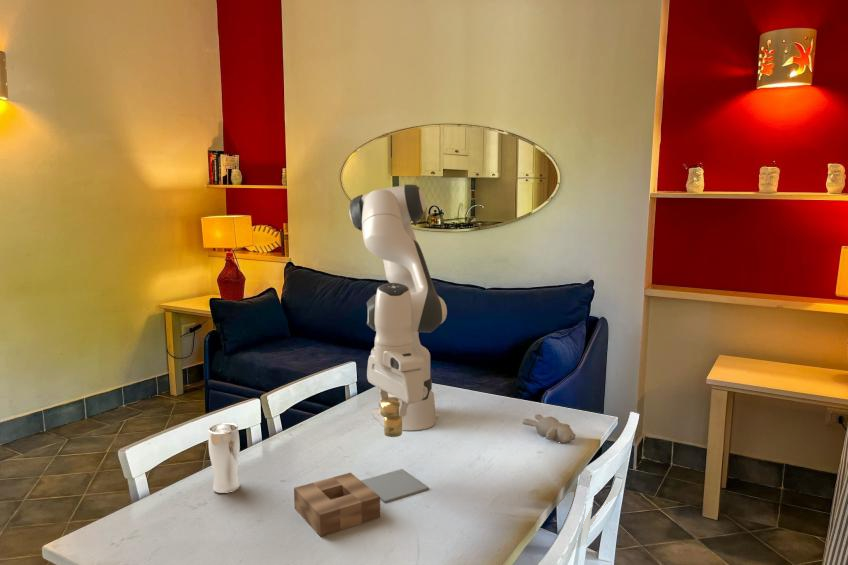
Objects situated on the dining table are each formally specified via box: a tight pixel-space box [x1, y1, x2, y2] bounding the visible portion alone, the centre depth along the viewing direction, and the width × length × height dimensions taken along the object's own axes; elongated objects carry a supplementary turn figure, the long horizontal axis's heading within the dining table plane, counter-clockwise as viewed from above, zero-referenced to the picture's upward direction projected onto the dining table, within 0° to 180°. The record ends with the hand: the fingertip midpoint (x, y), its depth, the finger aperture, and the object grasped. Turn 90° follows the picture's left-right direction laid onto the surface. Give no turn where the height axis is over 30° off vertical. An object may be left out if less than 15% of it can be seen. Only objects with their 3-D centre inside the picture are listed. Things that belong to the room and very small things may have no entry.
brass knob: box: [379, 397, 403, 438], centre depth 147 cm, size 6×6×8 cm
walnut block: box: [293, 472, 381, 538], centre depth 137 cm, size 14×14×5 cm
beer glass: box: [208, 422, 241, 493], centre depth 147 cm, size 7×7×15 cm
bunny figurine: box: [522, 414, 576, 444], centre depth 180 cm, size 10×5×15 cm
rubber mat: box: [360, 468, 430, 504], centre depth 150 cm, size 12×12×1 cm
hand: (393, 410), depth 147 cm, fingers closed on brass knob, 6 cm apart
